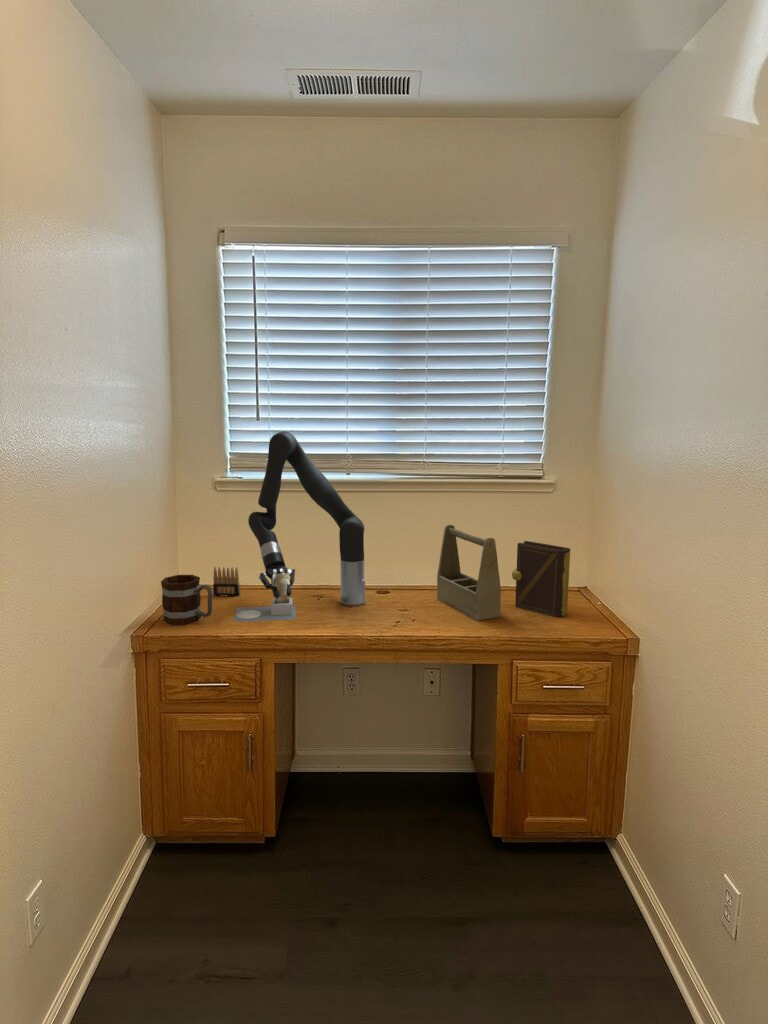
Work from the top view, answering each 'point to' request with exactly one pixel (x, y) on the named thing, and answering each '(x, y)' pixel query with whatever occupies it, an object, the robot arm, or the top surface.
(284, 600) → the peg
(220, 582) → the ammunition clip
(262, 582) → the robot arm
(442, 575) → the caddy
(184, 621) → the mug
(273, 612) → the board
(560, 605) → the book
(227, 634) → the top surface
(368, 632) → the top surface
